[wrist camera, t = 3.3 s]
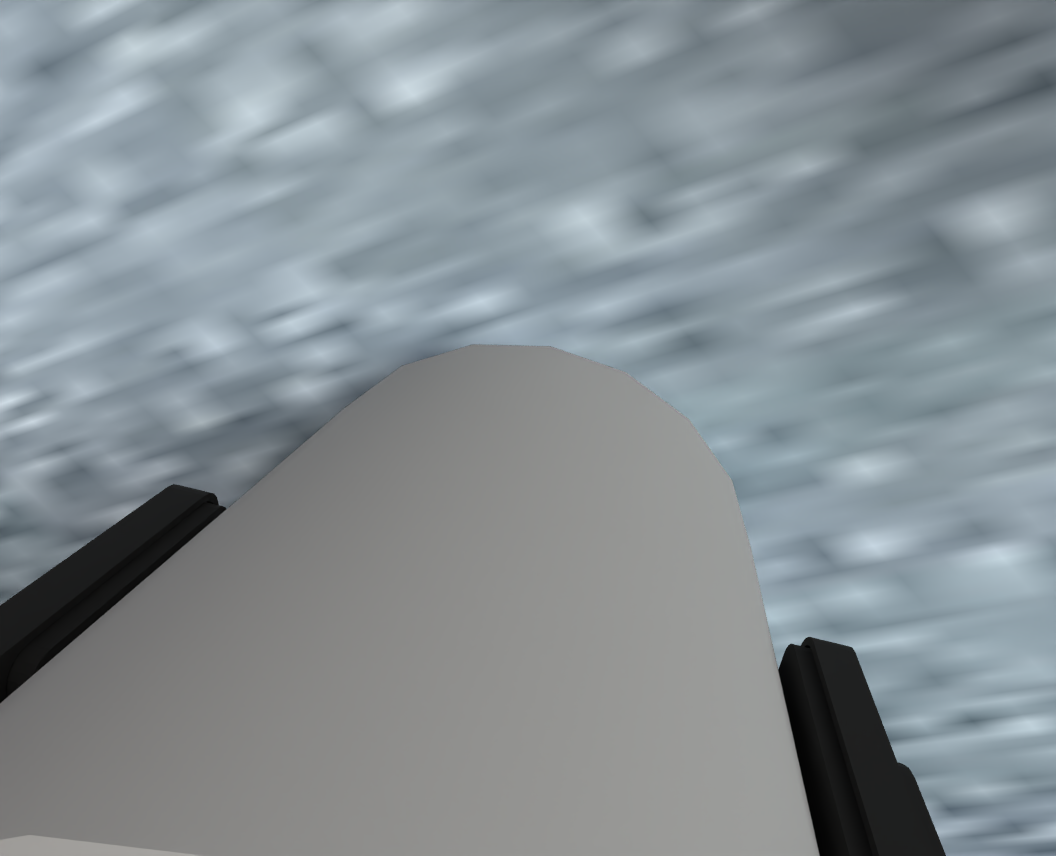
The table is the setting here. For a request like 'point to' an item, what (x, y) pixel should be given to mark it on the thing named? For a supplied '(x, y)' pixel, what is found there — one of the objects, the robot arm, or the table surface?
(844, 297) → the table surface
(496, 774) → the can
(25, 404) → the table surface
